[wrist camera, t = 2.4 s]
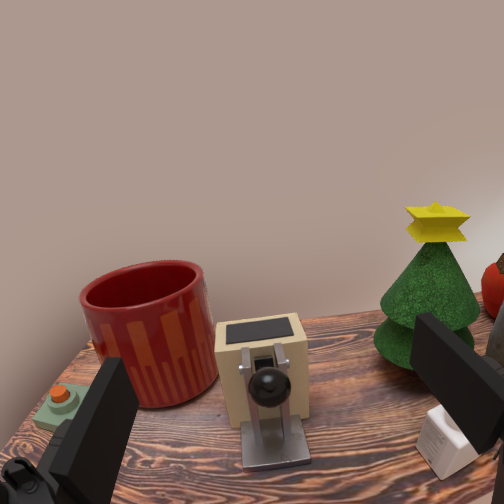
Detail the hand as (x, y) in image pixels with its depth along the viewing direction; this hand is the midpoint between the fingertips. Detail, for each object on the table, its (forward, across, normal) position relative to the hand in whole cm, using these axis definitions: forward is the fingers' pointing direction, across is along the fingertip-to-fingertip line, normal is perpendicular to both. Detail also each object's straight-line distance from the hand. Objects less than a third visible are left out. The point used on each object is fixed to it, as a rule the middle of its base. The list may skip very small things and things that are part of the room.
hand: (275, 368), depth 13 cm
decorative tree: (+29, +29, -29) cm, 50 cm away
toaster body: (+27, 0, -29) cm, 40 cm away
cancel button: (+27, -37, -25) cm, 52 cm away
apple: (+37, +58, -30) cm, 75 cm away
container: (+9, +23, -29) cm, 38 cm away
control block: (+27, -37, -29) cm, 54 cm away
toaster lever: (+14, 0, -14) cm, 20 cm away
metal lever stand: (+20, 0, -29) cm, 35 cm away
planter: (+40, -19, -29) cm, 53 cm away
